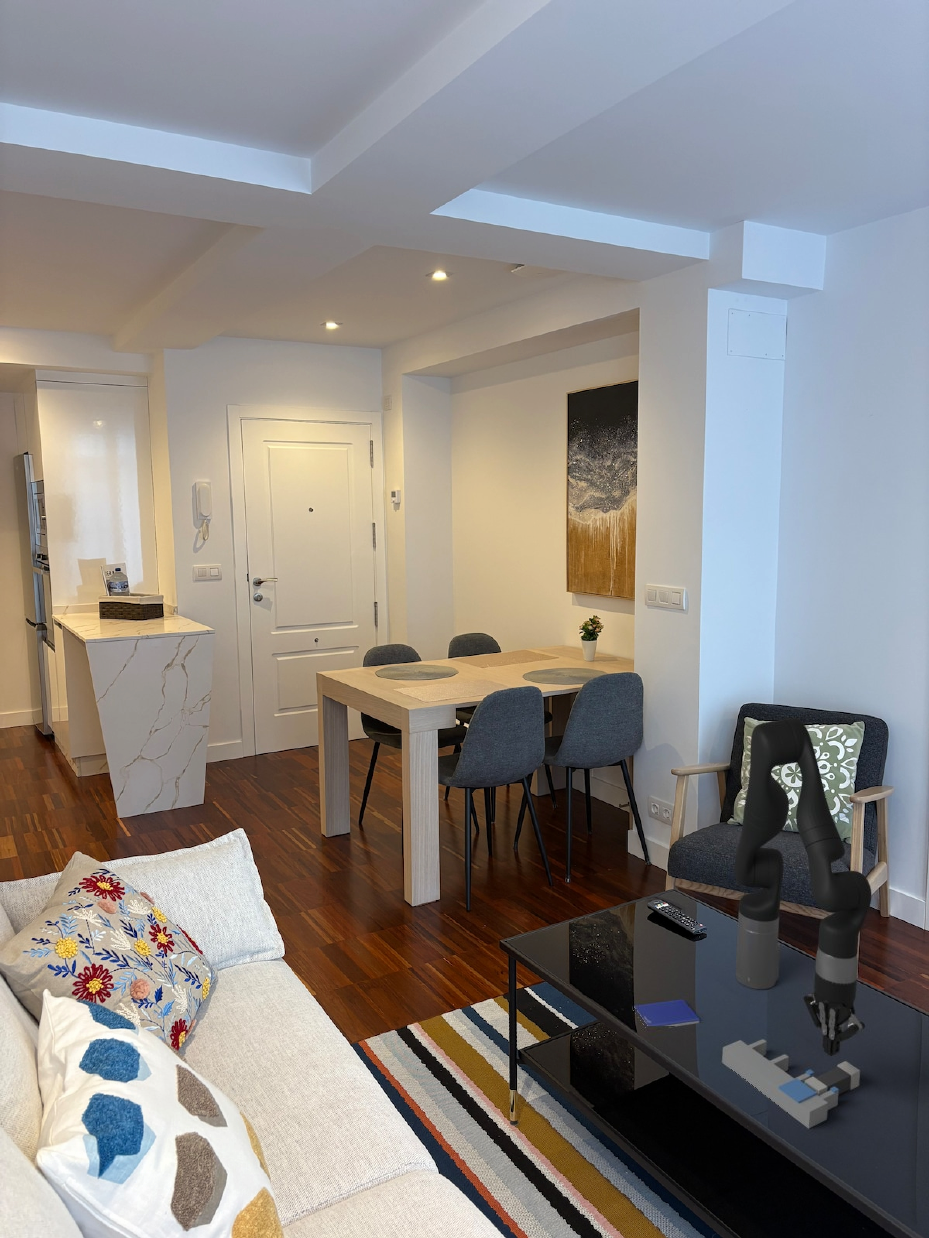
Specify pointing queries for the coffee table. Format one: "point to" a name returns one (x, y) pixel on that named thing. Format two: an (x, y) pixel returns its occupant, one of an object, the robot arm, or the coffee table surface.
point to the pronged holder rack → (779, 1082)
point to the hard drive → (667, 1013)
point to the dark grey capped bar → (835, 1079)
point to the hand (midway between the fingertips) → (830, 1052)
